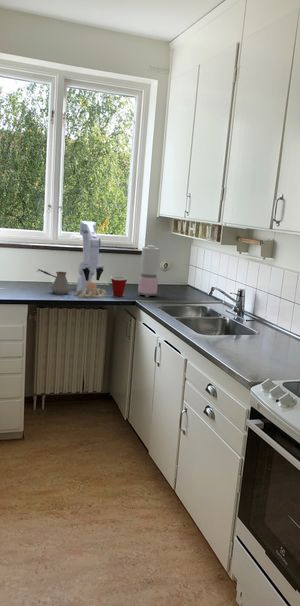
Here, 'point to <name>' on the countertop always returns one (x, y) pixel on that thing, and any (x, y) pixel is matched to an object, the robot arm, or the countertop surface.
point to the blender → (149, 271)
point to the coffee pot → (59, 283)
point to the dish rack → (90, 293)
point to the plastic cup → (118, 285)
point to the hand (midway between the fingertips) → (92, 280)
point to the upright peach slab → (91, 287)
